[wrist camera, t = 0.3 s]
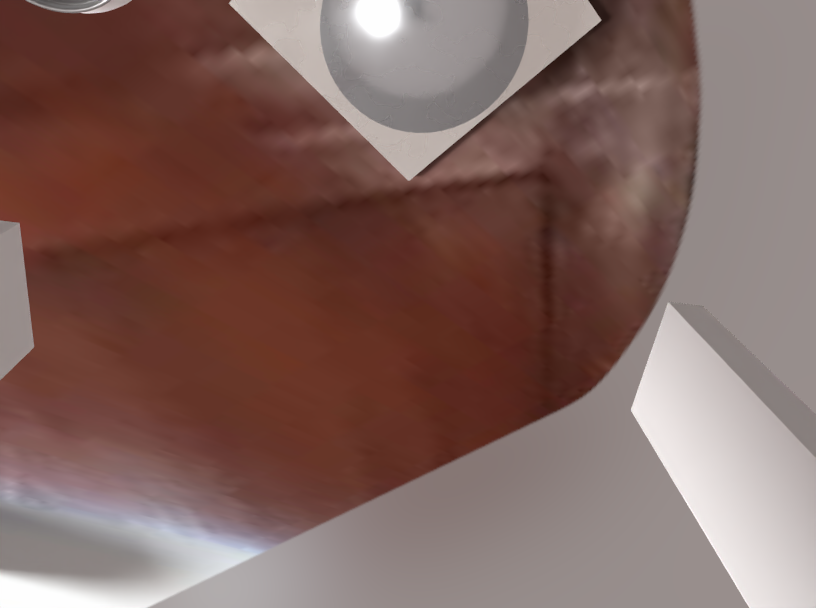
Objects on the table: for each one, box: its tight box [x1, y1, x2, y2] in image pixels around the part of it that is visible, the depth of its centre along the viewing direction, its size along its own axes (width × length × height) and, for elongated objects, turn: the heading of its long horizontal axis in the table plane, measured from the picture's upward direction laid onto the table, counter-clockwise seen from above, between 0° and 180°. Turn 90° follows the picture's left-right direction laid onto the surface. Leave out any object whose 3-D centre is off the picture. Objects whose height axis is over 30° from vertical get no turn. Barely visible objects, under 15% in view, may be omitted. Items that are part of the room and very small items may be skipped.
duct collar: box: [229, 0, 601, 181], centre depth 33 cm, size 14×14×5 cm
